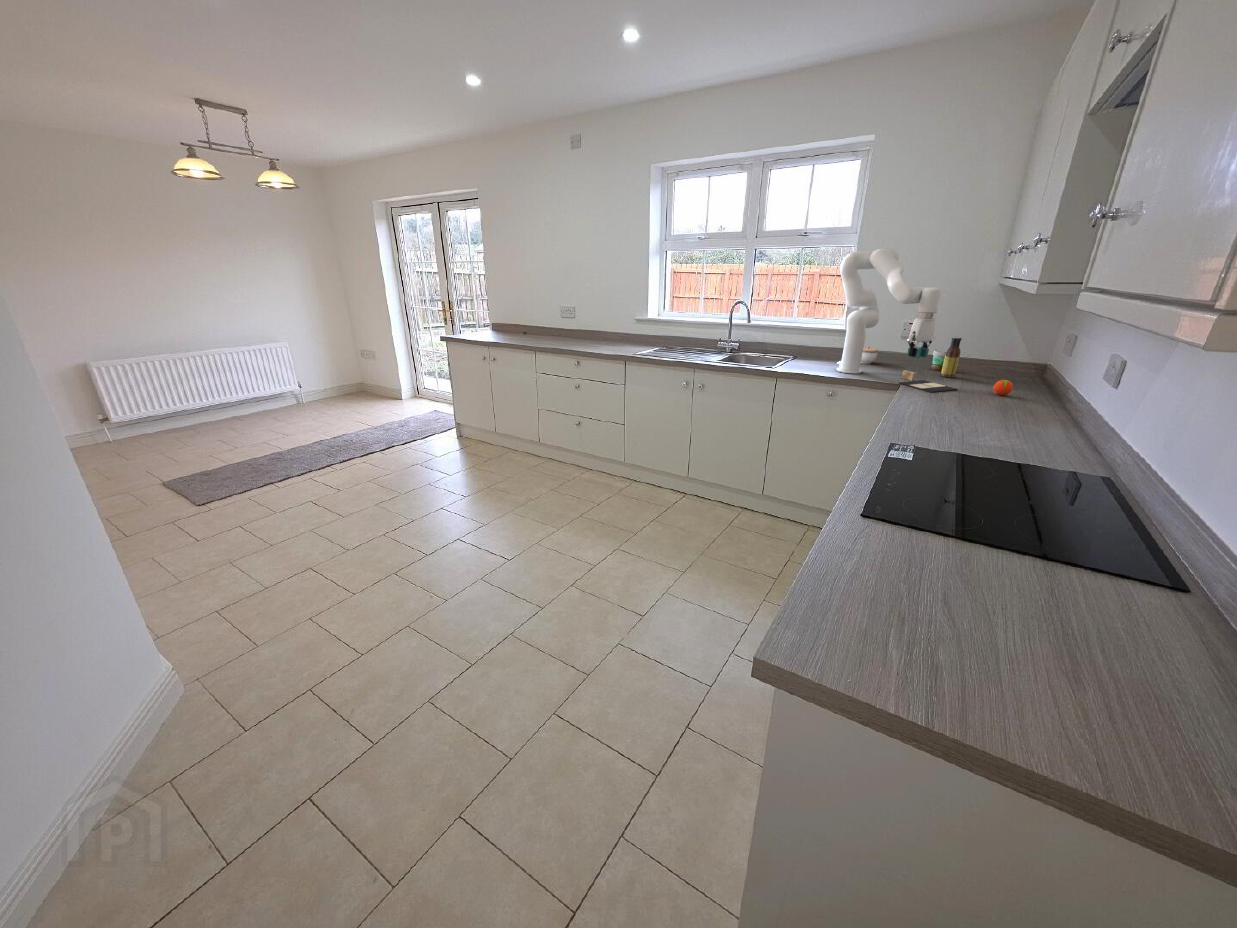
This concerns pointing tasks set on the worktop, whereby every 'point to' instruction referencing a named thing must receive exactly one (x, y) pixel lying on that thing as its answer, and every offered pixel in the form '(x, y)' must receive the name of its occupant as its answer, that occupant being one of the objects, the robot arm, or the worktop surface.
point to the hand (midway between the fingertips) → (917, 355)
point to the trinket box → (869, 355)
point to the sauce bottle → (951, 358)
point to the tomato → (1003, 387)
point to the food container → (938, 360)
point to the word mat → (927, 386)
